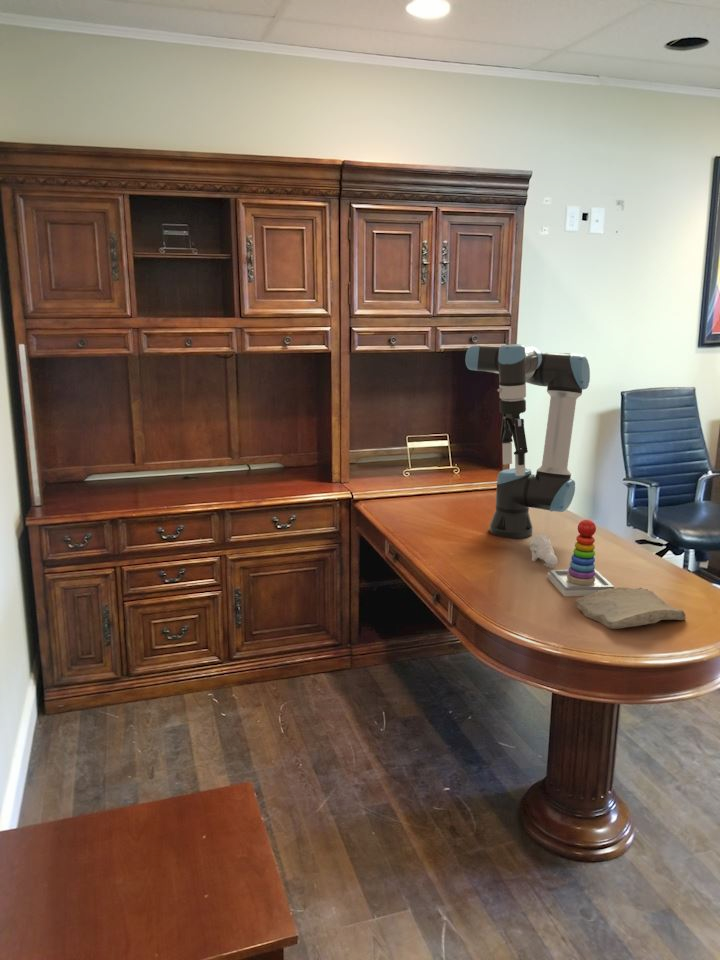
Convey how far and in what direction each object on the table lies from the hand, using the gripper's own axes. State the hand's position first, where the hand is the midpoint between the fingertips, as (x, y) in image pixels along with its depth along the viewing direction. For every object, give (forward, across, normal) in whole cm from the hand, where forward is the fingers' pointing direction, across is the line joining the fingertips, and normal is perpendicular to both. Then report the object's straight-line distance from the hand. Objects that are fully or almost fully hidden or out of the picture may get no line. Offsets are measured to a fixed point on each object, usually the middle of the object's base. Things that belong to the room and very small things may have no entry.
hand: (513, 469), depth 220 cm
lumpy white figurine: (+34, -6, +11) cm, 36 cm away
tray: (+33, +14, +16) cm, 39 cm away
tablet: (+34, +36, +21) cm, 54 cm away
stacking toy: (+32, +14, +16) cm, 38 cm away
